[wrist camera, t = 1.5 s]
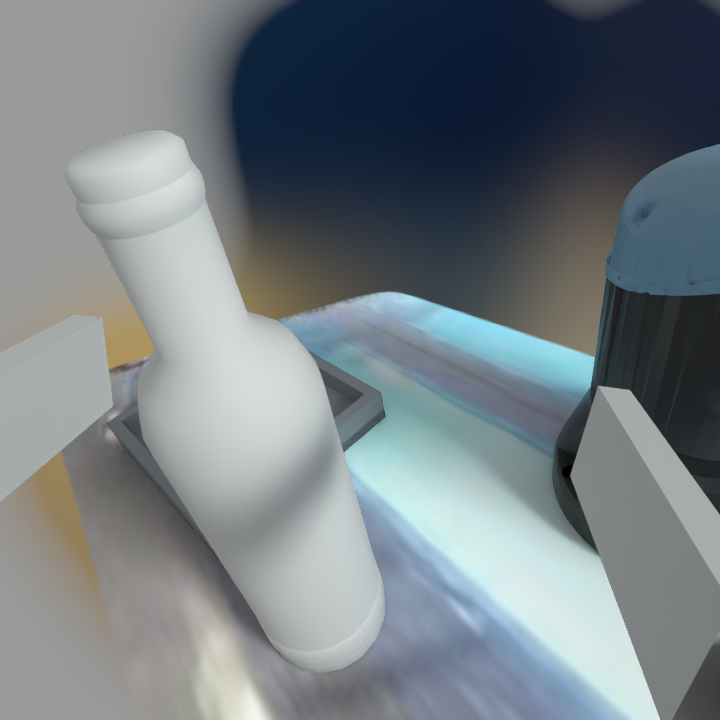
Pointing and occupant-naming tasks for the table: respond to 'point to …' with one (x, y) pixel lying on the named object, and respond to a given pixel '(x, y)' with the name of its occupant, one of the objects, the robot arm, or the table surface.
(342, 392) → the tray
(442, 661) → the table surface
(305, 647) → the bottle
